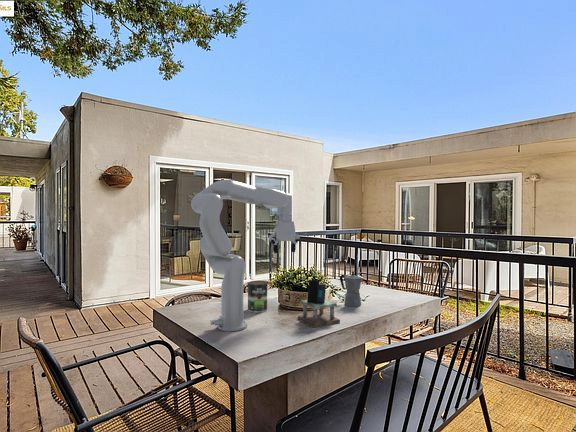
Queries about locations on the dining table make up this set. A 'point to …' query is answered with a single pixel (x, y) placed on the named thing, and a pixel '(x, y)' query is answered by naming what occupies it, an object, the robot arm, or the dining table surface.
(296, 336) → the dining table surface
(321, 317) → the peg shelf stand
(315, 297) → the speaker
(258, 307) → the coffee can
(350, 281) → the coffeepot
